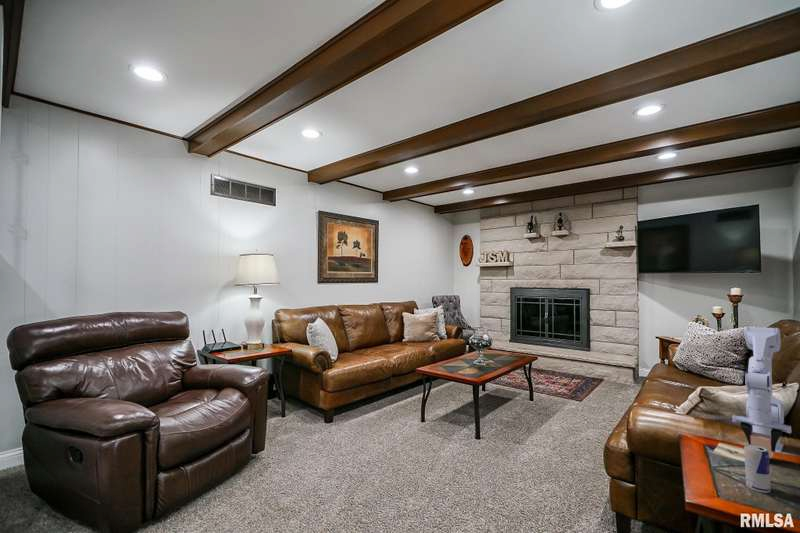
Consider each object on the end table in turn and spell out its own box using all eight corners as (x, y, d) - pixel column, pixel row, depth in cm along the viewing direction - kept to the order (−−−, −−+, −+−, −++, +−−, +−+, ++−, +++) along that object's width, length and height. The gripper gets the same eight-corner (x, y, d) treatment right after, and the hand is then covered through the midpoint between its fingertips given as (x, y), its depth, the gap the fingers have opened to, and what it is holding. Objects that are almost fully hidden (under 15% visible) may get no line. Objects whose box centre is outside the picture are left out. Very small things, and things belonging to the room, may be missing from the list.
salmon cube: (753, 449, 133) (752, 431, 134) (773, 453, 130) (772, 436, 130) (751, 453, 130) (750, 435, 130) (771, 458, 126) (770, 440, 127)
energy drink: (775, 494, 110) (773, 452, 110) (754, 492, 111) (752, 450, 111) (762, 484, 115) (760, 444, 115) (741, 483, 116) (739, 443, 116)
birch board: (719, 443, 144) (719, 442, 144) (751, 451, 137) (751, 450, 137) (712, 454, 135) (711, 452, 135) (745, 462, 128) (745, 461, 128)
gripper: (730, 405, 133) (732, 444, 133) (788, 416, 122) (791, 459, 122) (733, 401, 138) (735, 439, 138) (790, 411, 127) (793, 452, 126)
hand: (762, 448), depth 130 cm, fingers closed on salmon cube, 5 cm apart
